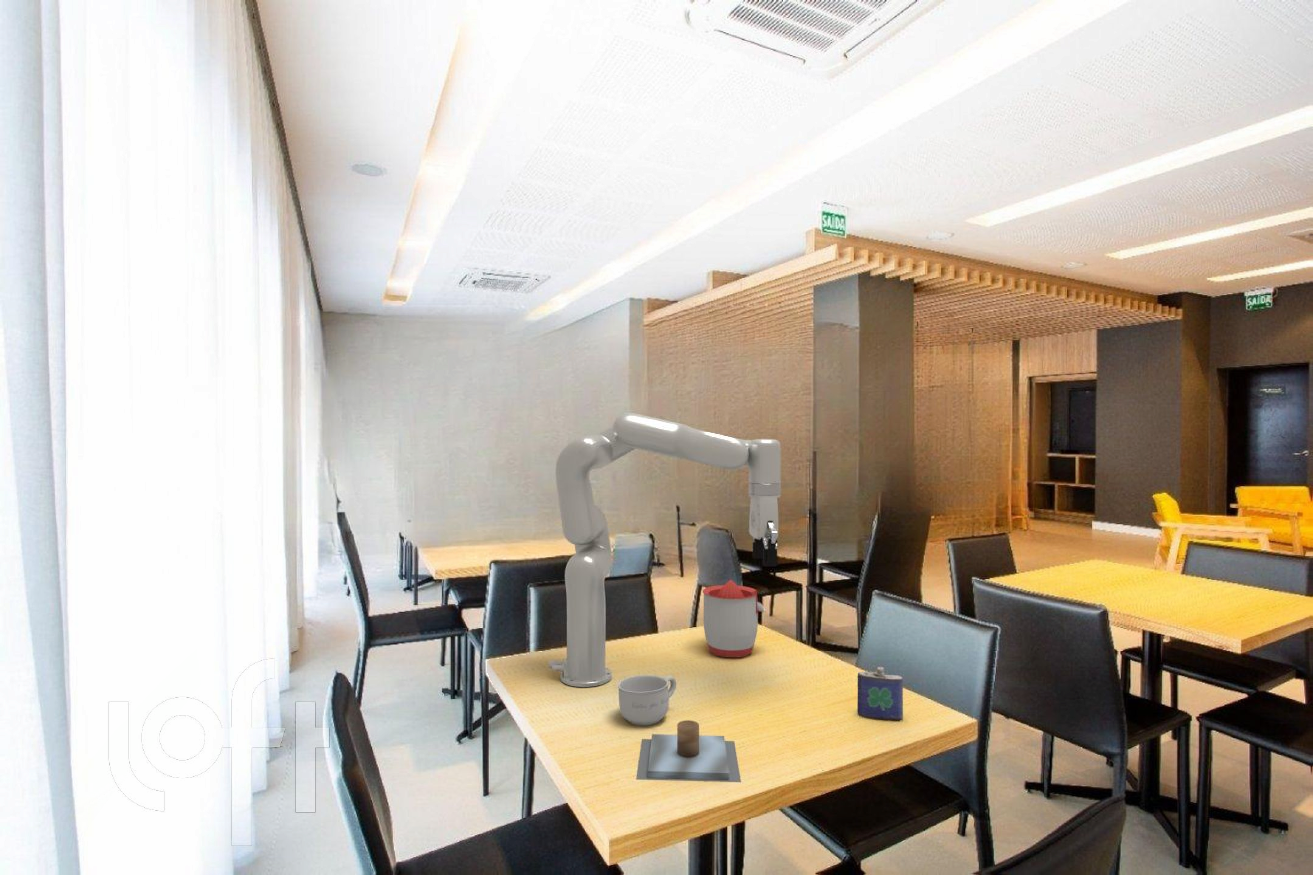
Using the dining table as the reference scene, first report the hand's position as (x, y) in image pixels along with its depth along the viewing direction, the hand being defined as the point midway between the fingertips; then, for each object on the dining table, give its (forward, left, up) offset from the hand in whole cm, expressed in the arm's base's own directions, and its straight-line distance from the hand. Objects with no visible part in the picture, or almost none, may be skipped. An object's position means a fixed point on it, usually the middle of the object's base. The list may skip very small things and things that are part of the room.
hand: (764, 562), depth 154 cm
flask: (+23, -15, -30) cm, 41 cm away
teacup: (-26, -18, -30) cm, 44 cm away
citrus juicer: (-5, +26, -30) cm, 40 cm away
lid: (-18, -36, -30) cm, 50 cm away
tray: (-18, -36, -30) cm, 51 cm away
